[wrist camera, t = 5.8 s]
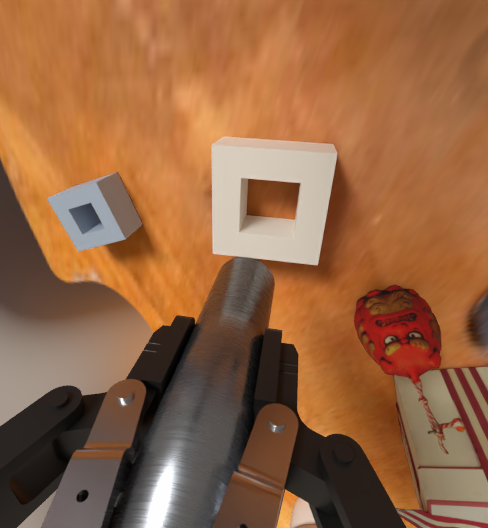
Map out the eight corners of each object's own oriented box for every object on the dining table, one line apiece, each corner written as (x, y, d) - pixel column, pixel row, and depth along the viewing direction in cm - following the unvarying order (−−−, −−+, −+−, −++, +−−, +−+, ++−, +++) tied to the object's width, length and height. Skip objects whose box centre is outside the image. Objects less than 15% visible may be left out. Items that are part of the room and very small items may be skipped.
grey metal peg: (217, 253, 17) (-73, 828, 4) (277, 260, 17) (174, 923, 4) (217, 302, 19) (9, 827, 6) (272, 309, 19) (187, 893, 5)
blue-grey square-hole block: (71, 186, 35) (46, 198, 32) (117, 172, 34) (96, 182, 30) (98, 235, 38) (78, 251, 34) (142, 224, 36) (125, 239, 33)
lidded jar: (356, 481, 53) (365, 552, 45) (350, 513, 58) (357, 583, 50) (290, 472, 55) (288, 539, 47) (290, 504, 60) (288, 570, 52)
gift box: (358, 375, 42) (387, 536, 27) (527, 351, 36) (682, 539, 21) (384, 454, 49) (419, 616, 34) (530, 444, 43) (648, 635, 28)
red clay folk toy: (416, 272, 34) (485, 391, 21) (432, 323, 36) (502, 456, 23) (344, 294, 36) (365, 411, 23) (363, 339, 39) (392, 467, 26)
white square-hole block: (223, 136, 30) (211, 144, 26) (333, 143, 29) (337, 153, 25) (222, 234, 35) (212, 253, 31) (316, 244, 34) (317, 265, 30)
